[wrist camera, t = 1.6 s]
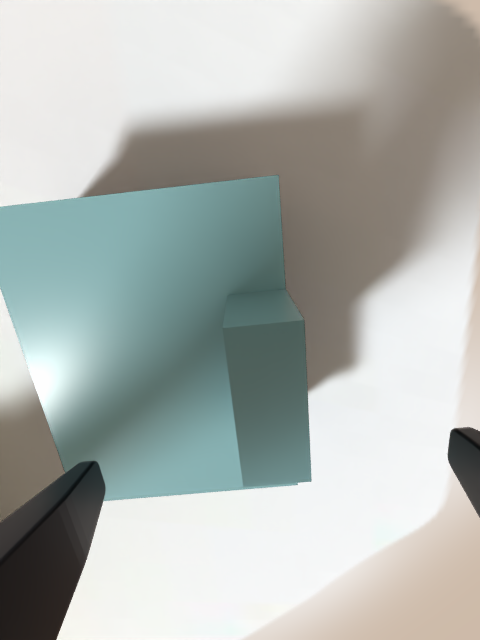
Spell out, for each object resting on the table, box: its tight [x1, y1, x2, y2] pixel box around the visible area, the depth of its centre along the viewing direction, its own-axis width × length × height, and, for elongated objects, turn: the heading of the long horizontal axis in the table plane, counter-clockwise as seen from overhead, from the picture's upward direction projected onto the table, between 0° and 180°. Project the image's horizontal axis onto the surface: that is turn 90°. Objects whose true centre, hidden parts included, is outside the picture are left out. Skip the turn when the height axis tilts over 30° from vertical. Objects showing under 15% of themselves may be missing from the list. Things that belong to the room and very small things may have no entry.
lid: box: [0, 175, 311, 501], centre depth 13 cm, size 15×12×6 cm
